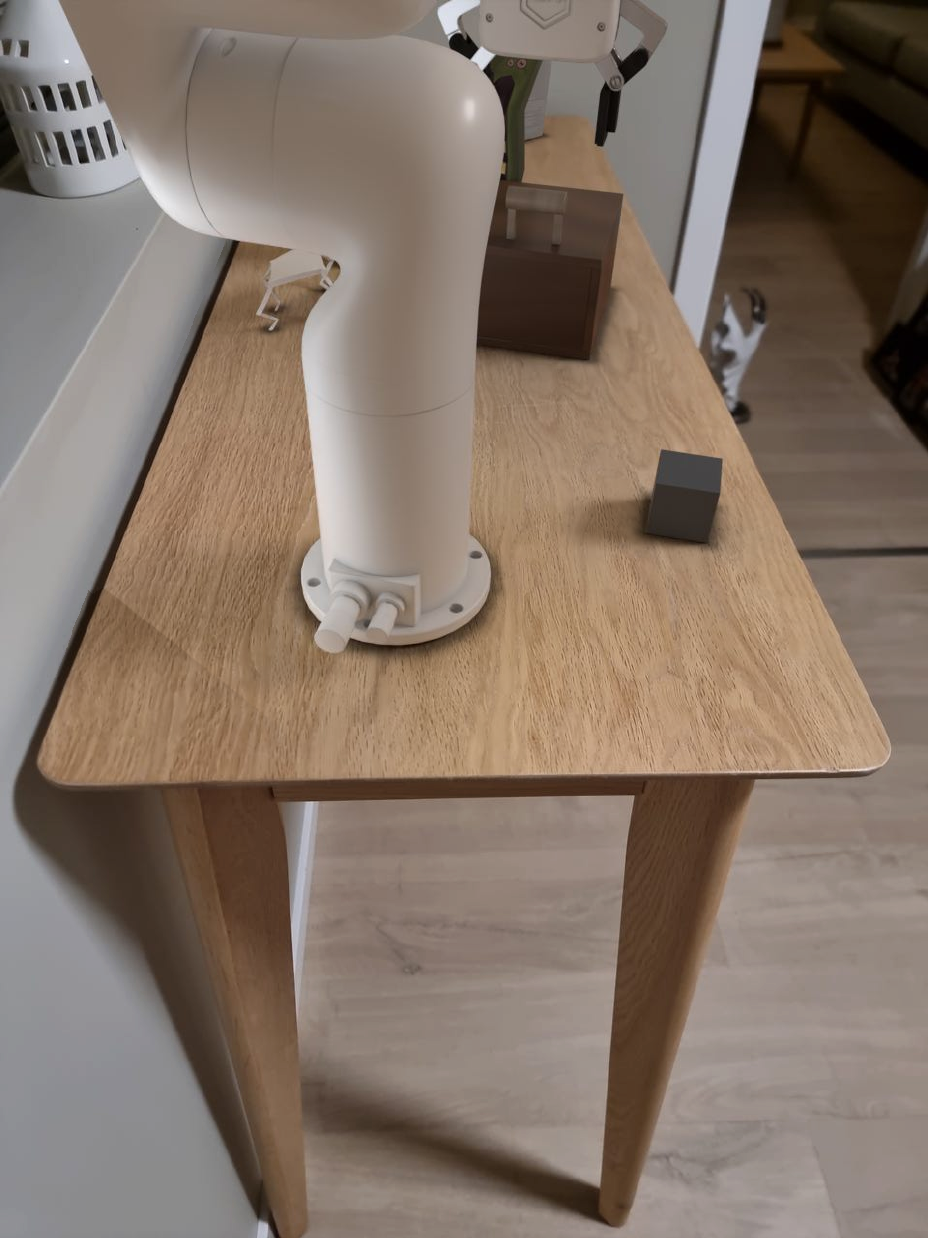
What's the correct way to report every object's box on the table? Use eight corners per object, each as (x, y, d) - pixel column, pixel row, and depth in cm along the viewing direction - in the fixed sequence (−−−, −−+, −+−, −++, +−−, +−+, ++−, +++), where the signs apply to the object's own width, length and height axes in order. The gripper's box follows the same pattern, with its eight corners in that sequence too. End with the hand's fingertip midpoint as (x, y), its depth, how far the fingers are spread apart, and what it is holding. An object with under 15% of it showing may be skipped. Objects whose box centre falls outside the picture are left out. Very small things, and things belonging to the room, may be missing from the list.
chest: (589, 360, 85) (601, 265, 79) (456, 341, 87) (458, 248, 81) (610, 289, 96) (622, 202, 90) (492, 274, 98) (496, 187, 92)
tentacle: (427, 213, 110) (426, -105, 89) (526, 208, 112) (548, -105, 91) (440, 243, 104) (443, -92, 83) (545, 237, 105) (574, -92, 85)
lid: (600, 269, 78) (608, 207, 75) (456, 251, 80) (458, 190, 77) (622, 201, 90) (630, 145, 86) (496, 187, 92) (499, 131, 88)
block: (707, 543, 66) (720, 493, 63) (645, 533, 67) (655, 483, 64) (710, 507, 69) (722, 458, 66) (651, 498, 70) (661, 448, 67)
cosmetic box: (473, 130, 133) (477, 0, 122) (508, 121, 137) (514, -6, 126) (514, 145, 129) (522, 12, 118) (549, 135, 133) (560, 5, 122)
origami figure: (341, 338, 87) (337, 287, 83) (253, 333, 87) (246, 282, 84) (360, 283, 95) (358, 235, 92) (280, 279, 96) (275, 231, 92)
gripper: (425, -139, 61) (426, 138, 73) (687, -124, 59) (644, 161, 71) (452, -150, 66) (449, 111, 78) (694, -137, 64) (653, 131, 76)
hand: (542, 134), depth 75 cm, fingers open, 9 cm apart
